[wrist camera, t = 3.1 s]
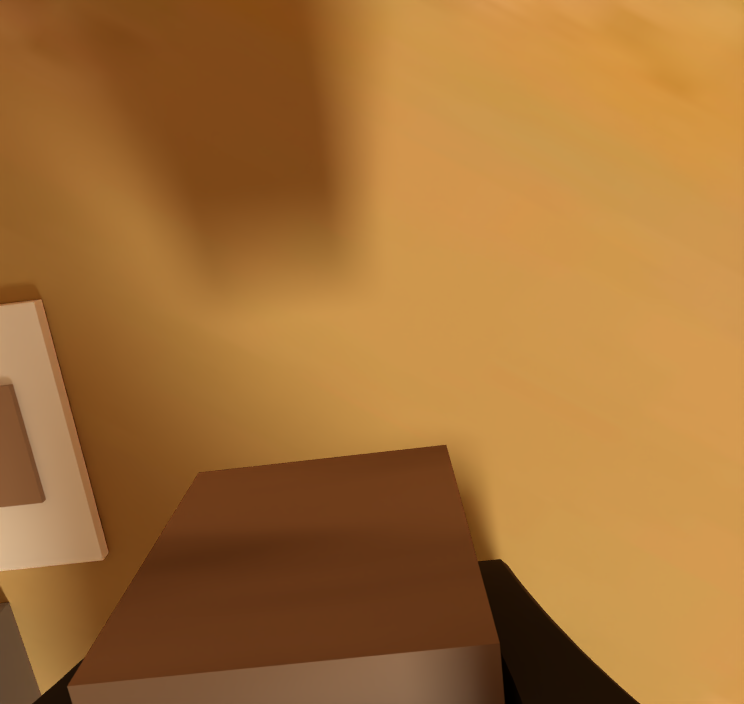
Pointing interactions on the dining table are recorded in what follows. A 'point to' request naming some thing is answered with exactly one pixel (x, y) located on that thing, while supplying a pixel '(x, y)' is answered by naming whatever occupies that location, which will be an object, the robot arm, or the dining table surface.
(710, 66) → the dining table surface
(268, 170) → the dining table surface
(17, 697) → the base block
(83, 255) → the dining table surface
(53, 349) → the card
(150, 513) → the dining table surface
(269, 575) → the walnut block
